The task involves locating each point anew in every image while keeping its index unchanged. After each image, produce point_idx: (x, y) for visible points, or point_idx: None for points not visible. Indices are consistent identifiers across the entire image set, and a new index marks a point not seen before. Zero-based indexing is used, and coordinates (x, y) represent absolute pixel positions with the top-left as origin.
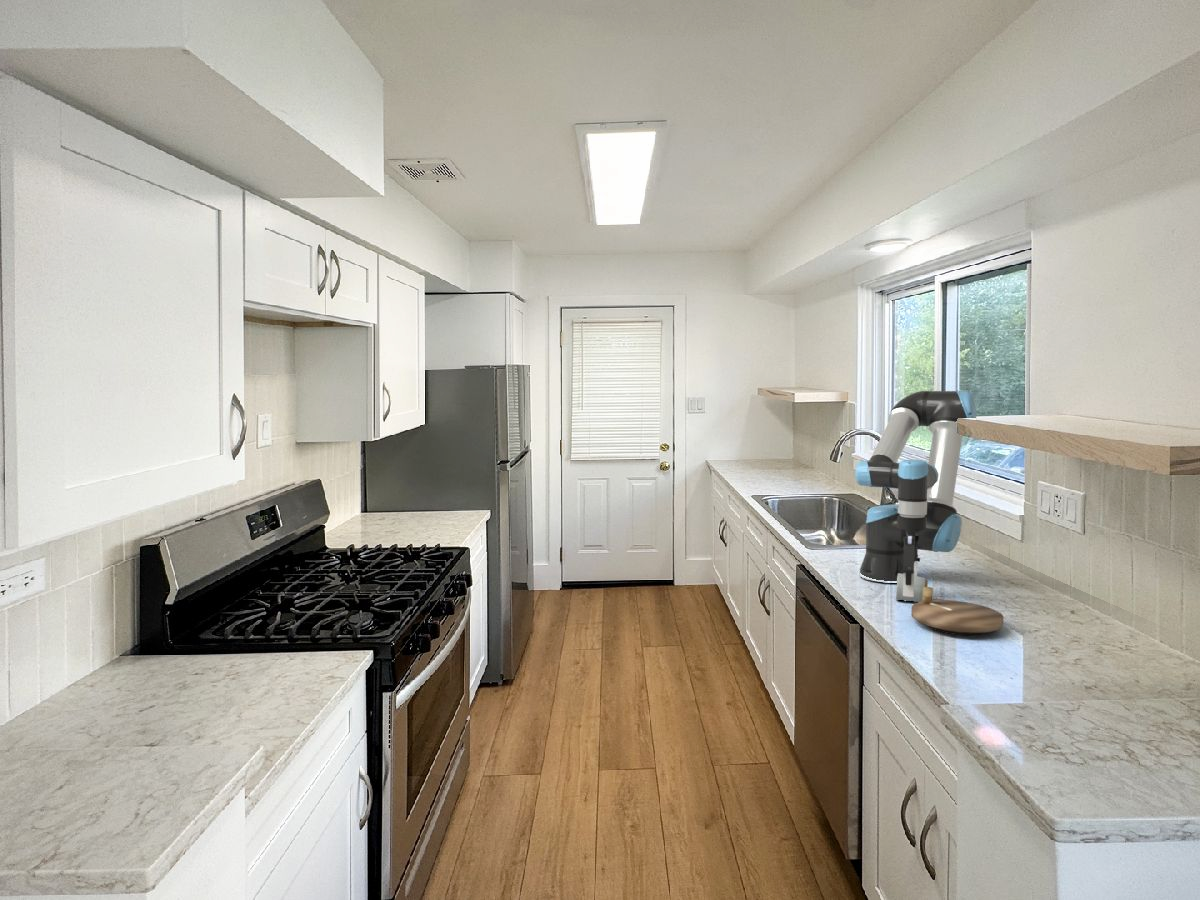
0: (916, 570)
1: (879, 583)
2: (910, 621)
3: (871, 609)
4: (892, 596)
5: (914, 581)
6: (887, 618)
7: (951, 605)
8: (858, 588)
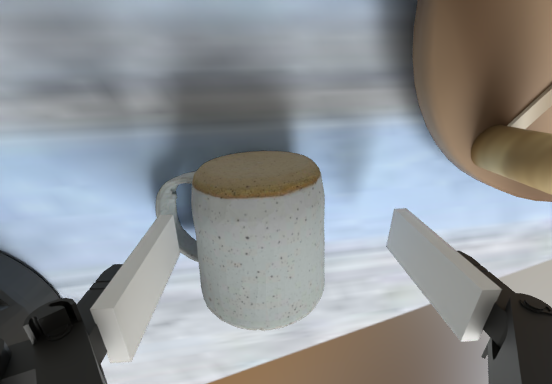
0: (144, 266)
1: None
2: None
3: (402, 291)
4: None
5: (309, 241)
6: (488, 244)
7: (536, 24)
8: (179, 350)
